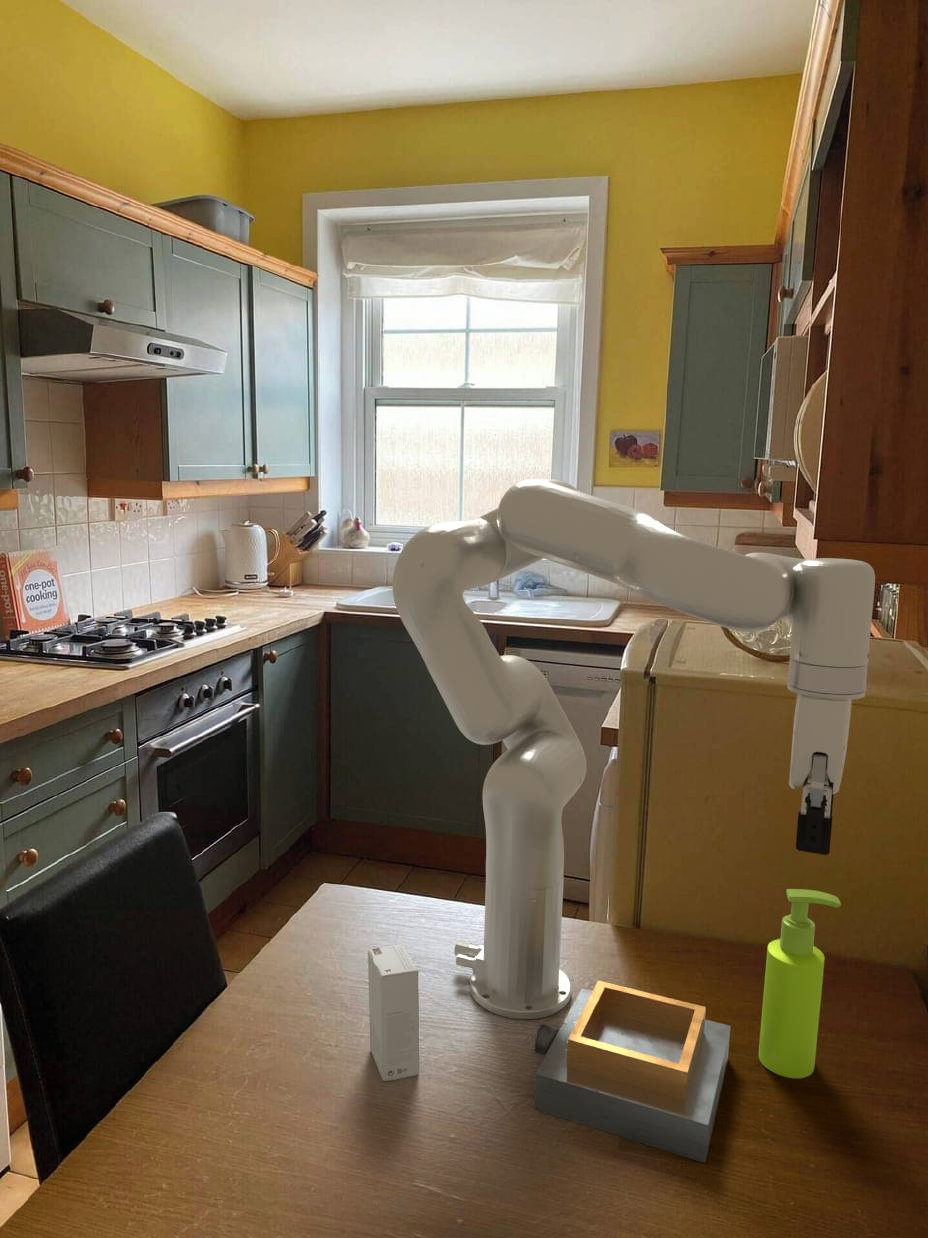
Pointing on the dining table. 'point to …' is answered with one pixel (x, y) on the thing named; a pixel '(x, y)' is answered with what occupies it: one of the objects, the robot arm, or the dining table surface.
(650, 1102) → the bottle holder tray
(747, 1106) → the dining table surface
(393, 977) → the skincare box
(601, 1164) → the dining table surface
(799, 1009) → the green pump bottle
